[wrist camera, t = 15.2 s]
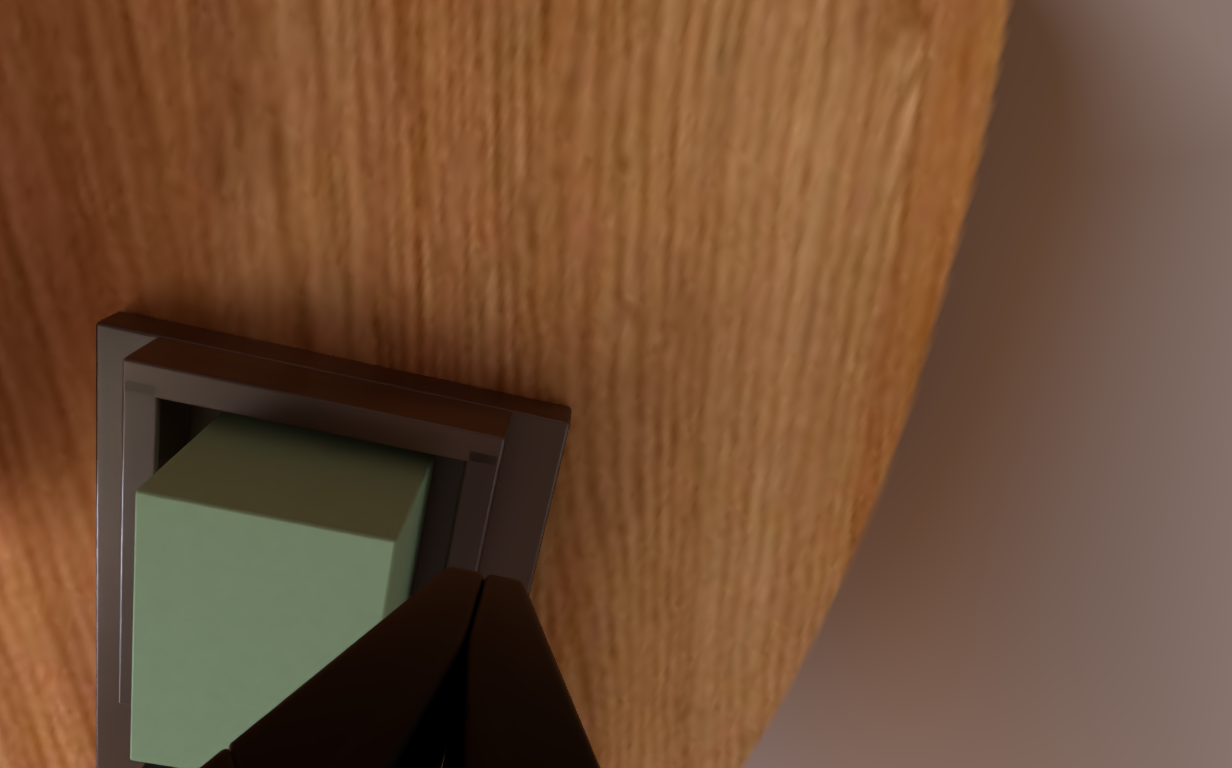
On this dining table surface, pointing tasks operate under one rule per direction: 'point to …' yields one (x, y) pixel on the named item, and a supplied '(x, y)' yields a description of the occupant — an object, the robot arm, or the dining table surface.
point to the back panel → (318, 400)
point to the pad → (260, 573)
